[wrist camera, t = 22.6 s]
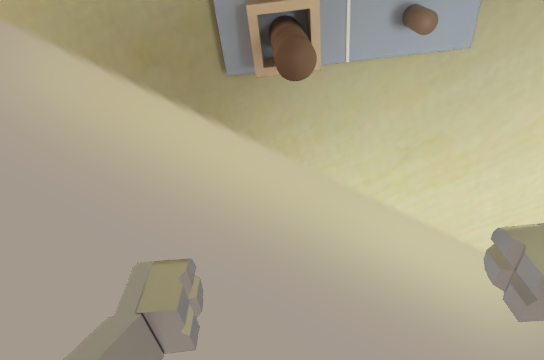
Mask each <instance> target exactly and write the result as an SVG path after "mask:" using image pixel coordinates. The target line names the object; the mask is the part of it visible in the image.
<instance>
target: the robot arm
mask: <svg viewBox="0 0 544 360" xmlns="http://www.w3.org/2000/svg"><path fill="white" fill-rule="evenodd" d="M491 240H492V241H493V242H494V245H492V246H491V247H490V248H489V249H487V250H486V253H485V257H484V265H485V270H486V273H487V275H488V277H489V279H490V280H491V282H492V283H493V285H495V286H496V287H498V288H500V289H501V290H503V291H504V296H503V300H504V301H505V303H506V304H507V306H508V307H509V308H510V310H511V312H512V313H513V314H514V316H515V317H516V319H517V320H518V322H527V321H544V223H541V224H530V225H521V226H512V227H503V228H497V229H496V230H495V231H494V232H493V234H492V237H491ZM195 271H196V265H195V263H194V261H193V259H177V260H163V261H154V262H140V263H137V264H136V265H135V266H134V267H133V269H132V271H131V274H130V276H129V279H128V282H127V284H126V287H125V289H124V292H123V294H122V297H121V300H120V302H119V305H118V307H117V310H116V313H115V315H114V316H112V317H108V318H107V319H106V320H105V321H104V322H102V323H101V324H100V325H99V326H98V327H97V328H96V329H95V330H94V331H93V332H92V333H91V334H90V335H89V336H88V337H87V338H85V339H84V340H83V341H82V342H81V343H80V344H79V345H78V346H77V347H76V348H75V349H74V350H73V351H72V352H71V353H70V354H69V355H68V356H66V357H65V358H64V359H63V360H162V359H163V357H164V354H167V353H176V352H184V351H193V350H196V346H197V340H198V333H199V327H200V326H199V324H198V321H197V319H196V318H197V316H198V315H199V314H200V313H201V312H202V307H203V288H202V283H201V279H200V277H198V276H197V275H195Z"/></svg>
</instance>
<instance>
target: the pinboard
mask: <svg viewBox="0 0 544 360" xmlns="http://www.w3.org/2000/svg"><path fill="white" fill-rule="evenodd" d="M213 3H214V8H215V13H216V19H217V24H218V30H219V35H220V40H221V46H222V51H223V57H224V62H225V67H226V73H227V76H232V75H241V74H249V73H255V75H256V78H258V77H267V76H276V75H280V74H279V72H278V71H277V68H276V64H275V60H274V55H273V51H272V47H271V42H270V38H269V28H270V25H271V23H272V22H273V21H274V20H275V19H276V18H277V17H279V16H282V15H289V16H292V17H293V18H295V19H296V20H297V21H298V23H299V24H300V26H301V28H302V29H303V31H304V33H305V34H306V36H307V38H308V39H309V41H310V42H311V44H312V46H313V47H314V49H315V51H316V55H317V62H316V66H315V68H314V70H313V71H319V70H321V65H327V64H335V63H344V62H352V61H361V60H369V59H378V58H387V57H395V56H404V55H412V54H421V53H429V52H438V51H447V50H455V49H464V48H471V44H472V40H473V35H474V31H475V26H476V22H477V17H478V13H479V8H480V4H481V0H213Z"/></svg>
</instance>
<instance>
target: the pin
mask: <svg viewBox="0 0 544 360" xmlns="http://www.w3.org/2000/svg"><path fill="white" fill-rule="evenodd" d="M269 38H270V42H271V47H272V51H273V55H274V60H275V64H276V68H277V71H278V72H279V74H280V75H281V76H282V77H284V78H285V79H287V80H290V81H300V80H303V79H305V78H307V77H308V76H309V75H310V74H311V73H312V72H313V70H314V68H315V66H316V62H317V55H316V51H315V49H314V47H313V46H312V44H311V42H310V41H309V39H308V38H307V36H306V34H305V33H304V31H303V29H302V28H301V26H300V24H299V23H298V21H297V20H296V19H295V18H293V17H292V16H289V15H282V16H279V17H277V18H276V19H275V20H274V21H273V22H272V23H271V25H270V28H269Z"/></svg>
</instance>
